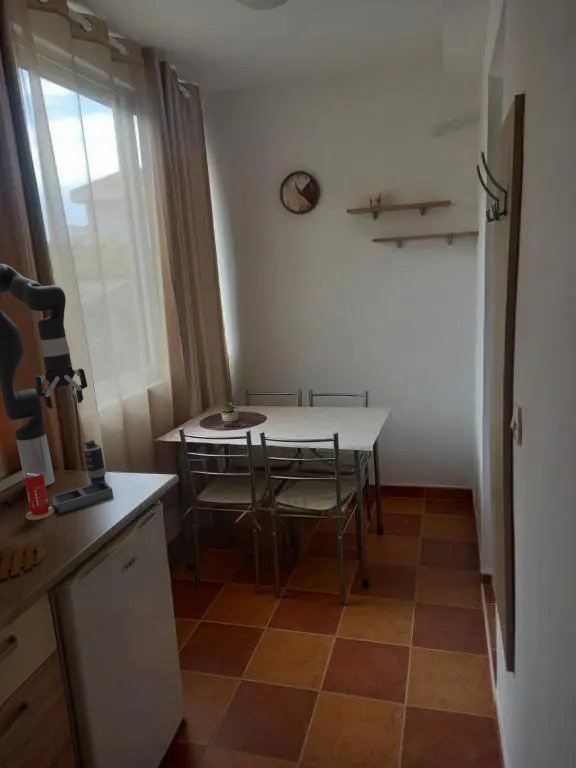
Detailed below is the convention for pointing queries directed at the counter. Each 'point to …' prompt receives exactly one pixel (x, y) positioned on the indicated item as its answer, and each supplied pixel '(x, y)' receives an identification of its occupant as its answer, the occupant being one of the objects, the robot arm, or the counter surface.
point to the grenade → (94, 462)
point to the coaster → (37, 517)
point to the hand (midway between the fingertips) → (65, 405)
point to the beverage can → (36, 492)
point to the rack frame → (82, 497)
